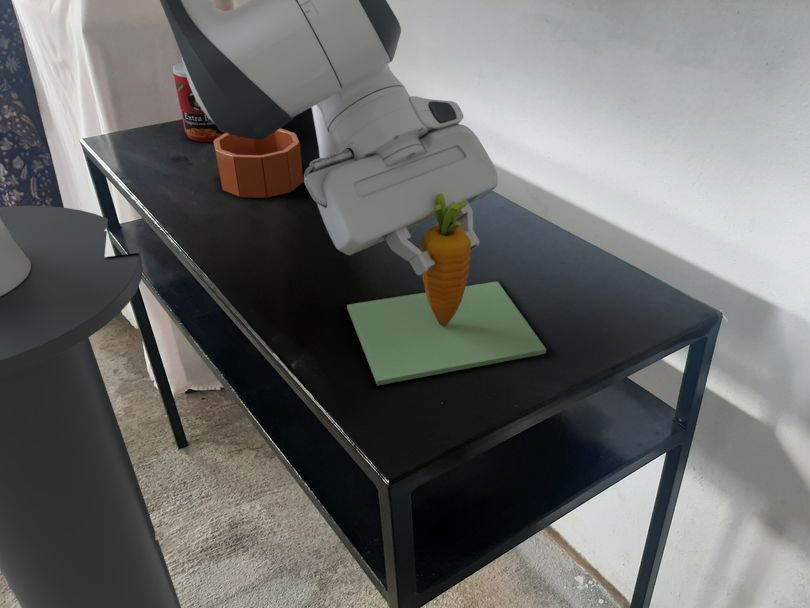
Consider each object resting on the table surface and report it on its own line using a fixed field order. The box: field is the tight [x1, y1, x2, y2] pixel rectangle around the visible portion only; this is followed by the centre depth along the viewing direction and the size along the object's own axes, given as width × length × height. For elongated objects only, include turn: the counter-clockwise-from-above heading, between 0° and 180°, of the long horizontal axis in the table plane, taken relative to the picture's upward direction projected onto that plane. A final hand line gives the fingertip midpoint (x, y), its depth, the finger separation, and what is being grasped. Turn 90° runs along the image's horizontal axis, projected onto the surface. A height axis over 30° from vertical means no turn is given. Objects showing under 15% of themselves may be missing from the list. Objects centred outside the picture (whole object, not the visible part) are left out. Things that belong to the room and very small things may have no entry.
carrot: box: [420, 193, 472, 326], centre depth 74 cm, size 5×5×15 cm
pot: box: [213, 127, 304, 199], centre depth 106 cm, size 12×12×6 cm
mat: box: [346, 281, 547, 386], centre depth 78 cm, size 18×14×1 cm
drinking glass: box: [310, 105, 339, 158], centre depth 109 cm, size 7×7×15 cm
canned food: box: [172, 61, 225, 143], centre depth 118 cm, size 8×8×11 cm
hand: (450, 260), depth 73 cm, fingers closed on carrot, 5 cm apart
